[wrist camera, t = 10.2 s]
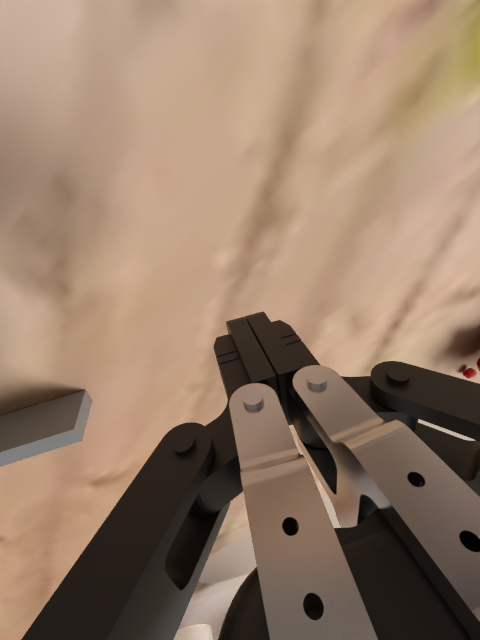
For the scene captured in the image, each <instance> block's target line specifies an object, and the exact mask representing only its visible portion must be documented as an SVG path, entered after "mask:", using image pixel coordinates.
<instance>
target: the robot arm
mask: <svg viewBox="0 0 480 640" xmlns="http://www.w3.org/2000/svg"><path fill="white" fill-rule="evenodd" d="M226 325H227V330H228V335H224V336H221V337H217V338H216V341H215V344H214V351H215V354H216V358H217V362H218V366H219V370H220V373H221V377H222V381H223V384H224V387H225V391H226V394H227V398H228V403H227V406H226V408H225V410H224V411H223V413H222V414H221V415H220V416H219V417H218V418H216V419H215V420H214V421H212V422H211V423H209V424H208V425H206V426H203V425H201V424H199V423H184V424H181V425H178V426H176V427H175V428H173V429H172V430H170V431H169V432H168V433H167V434H166V435H165V436H164V437H163V439H162V440H161V442H160V443H159V444H158V446H157V447H156V449H155V450H154V452H153V453H152V454H151V456H150V457H149V459H148V460H147V461H146V463H145V464H144V466H143V467H142V469H141V470H140V471H139V473H138V474H137V476H136V477H135V479H134V480H133V481H132V483H131V484H130V486H129V487H128V489H127V490H126V491H125V493H124V494H123V496H122V497H121V498H120V500H119V501H118V503H117V504H116V506H115V507H114V508H113V510H112V511H111V513H110V514H109V516H108V517H107V518H106V520H105V521H104V523H103V524H102V526H101V527H100V528H99V530H98V531H97V533H96V534H95V535H94V537H93V538H92V540H91V541H90V543H89V544H88V545H87V547H86V548H85V550H84V551H83V553H82V554H81V555H80V557H79V558H78V560H77V561H76V563H75V564H74V565H73V567H72V568H71V570H70V571H69V572H68V574H67V575H66V577H65V578H64V580H63V581H62V582H61V584H60V585H59V587H58V588H57V590H56V591H55V592H54V594H53V595H52V597H51V598H50V600H49V601H48V602H47V604H46V605H45V607H44V608H43V609H42V611H41V612H40V614H39V615H38V617H37V618H36V619H35V621H34V622H33V624H32V625H31V627H30V628H29V629H28V631H27V632H26V634H25V635H24V637H23V638H22V639H21V640H174V637H175V635H176V633H177V630H178V628H179V625H180V623H181V621H182V618H183V616H184V614H185V611H186V609H187V606H188V604H189V602H190V599H191V597H192V594H193V592H194V590H195V587H196V585H197V583H198V580H199V578H200V575H201V573H202V571H203V568H204V566H205V563H206V561H207V559H208V556H209V554H210V552H211V549H212V547H213V544H214V542H215V540H216V537H217V535H218V533H219V530H220V528H221V525H222V523H223V521H224V518H225V516H226V513H227V511H228V509H229V506H230V501H231V500H233V499H234V498H235V497H236V496H238V495H239V494H240V493H241V492H244V498H245V503H246V509H247V514H248V520H249V526H250V531H251V537H252V542H253V548H254V552H255V559H256V564H257V567H256V568H255V569H254V570H253V571H252V572H251V573H250V574H249V575H248V577H247V578H246V579H245V581H244V582H243V584H242V585H241V586H240V588H239V589H238V591H237V593H236V595H235V597H234V598H233V600H232V602H231V605H230V607H229V609H228V612H227V614H226V617H225V619H224V622H223V625H222V629H221V632H220V635H219V638H218V640H480V384H478V383H474V382H471V381H467V380H464V379H460V378H456V377H453V376H449V375H446V374H442V373H439V372H435V371H431V370H428V369H424V368H421V367H417V366H413V365H410V364H406V363H402V362H396V361H387V362H382V363H379V364H378V365H376V366H375V367H374V368H373V369H372V371H371V376H364V377H342V376H340V375H339V374H338V373H337V372H335V371H334V370H333V369H331V368H328V367H325V366H321V365H320V364H319V363H318V361H317V360H316V359H315V357H314V356H313V355H312V354H311V352H310V351H309V350H308V348H307V347H306V346H305V344H304V343H303V342H302V341H301V339H300V338H299V337H298V335H296V333H295V331H294V330H293V329H292V327H291V326H290V325H288V324H286V323H284V322H283V321H281V320H278V321H274V322H271V321H270V320H269V319H268V317H267V316H266V314H265V313H264V312H259V313H256V314H252V315H248V316H245V317H241V318H238V319H234V320H230V321H227V322H226ZM418 419H421V420H424V421H426V422H429V423H432V424H434V425H437V426H440V427H443V428H445V429H448V430H451V431H453V432H456V433H459V434H461V435H464V436H467V437H470V438H472V439H475V440H476V441H467V440H463V439H460V438H458V437H455V436H452V435H450V434H447V433H444V432H442V431H439V430H436V429H434V428H431V427H428V426H425V425H423V424H420V423H418ZM292 424H293V426H294V428H295V430H296V432H297V437H298V444H299V446H300V448H301V450H302V452H303V453H304V455H305V457H306V459H307V460H308V462H309V464H310V465H311V467H312V469H313V470H314V472H315V474H316V476H317V477H318V479H319V481H320V482H321V484H322V486H323V488H324V489H325V491H326V493H327V494H328V496H329V498H330V500H331V502H332V504H333V506H334V509H335V512H336V515H337V519H338V521H339V524H340V526H341V528H333V525H332V523H331V520H330V518H329V516H328V513H327V510H326V508H325V505H324V503H323V500H322V498H321V495H320V493H319V490H318V488H317V485H316V483H315V480H314V478H313V475H312V472H311V470H310V467H309V465H308V463H307V461H306V459H305V457H304V456H303V455H300V453H299V451H298V449H297V447H296V444H295V441H294V439H293V436H292V434H291V431H290V428H289V425H292Z"/></svg>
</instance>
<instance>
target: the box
mask: <svg viewBox="0 0 480 640" xmlns="http://www.w3.org/2000/svg"><path fill="white" fill-rule="evenodd" d="M91 403H92V400H91V398H90V396H89V395H88V393H87V391H86V390H83V391H80V392H77V393H73V394H70V395H67V396H63V397H60V398H57V399H53V400H50V401H47V402H43V403H40V404H36V405H33V406H30V407H26V408H23V409H20V410H16V411H13V412H10V413H6V414H3V415H0V467H1V466H4V465H7V464H10V463H13V462H16V461H20V460H23V459H26V458H29V457H32V456H35V455H38V454H41V453H45V452H48V451H51V450H54V449H57V448H60V447H63V446H67V445H70V444H73V443H76V442H79V441H82V438H83V434H84V430H85V426H86V423H87V419H88V415H89V411H90V407H91Z"/></svg>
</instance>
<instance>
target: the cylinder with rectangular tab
mask: <svg viewBox="0 0 480 640" xmlns="http://www.w3.org/2000/svg"><path fill="white" fill-rule="evenodd" d="M174 640H213V638H212V630H211V627H210V626H209V625H206V624H196V625H191V626H187V627H184V628H181V629H178V630H177V633H176V635H175V637H174Z"/></svg>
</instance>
